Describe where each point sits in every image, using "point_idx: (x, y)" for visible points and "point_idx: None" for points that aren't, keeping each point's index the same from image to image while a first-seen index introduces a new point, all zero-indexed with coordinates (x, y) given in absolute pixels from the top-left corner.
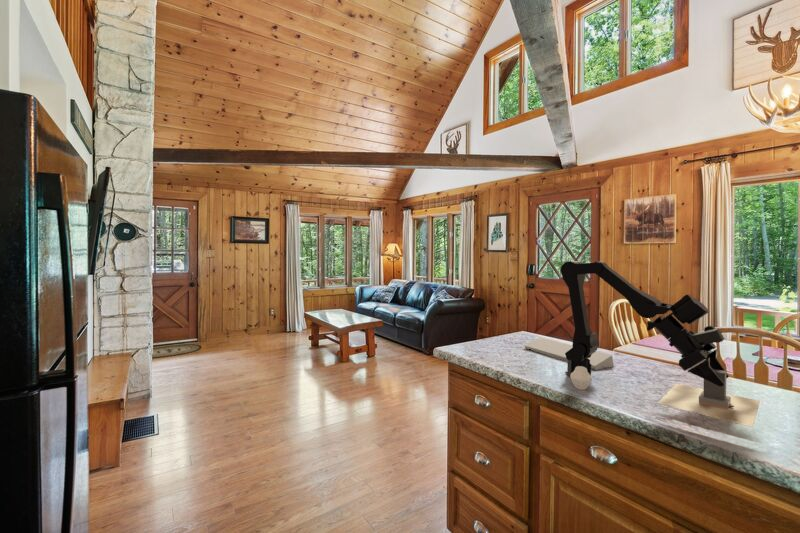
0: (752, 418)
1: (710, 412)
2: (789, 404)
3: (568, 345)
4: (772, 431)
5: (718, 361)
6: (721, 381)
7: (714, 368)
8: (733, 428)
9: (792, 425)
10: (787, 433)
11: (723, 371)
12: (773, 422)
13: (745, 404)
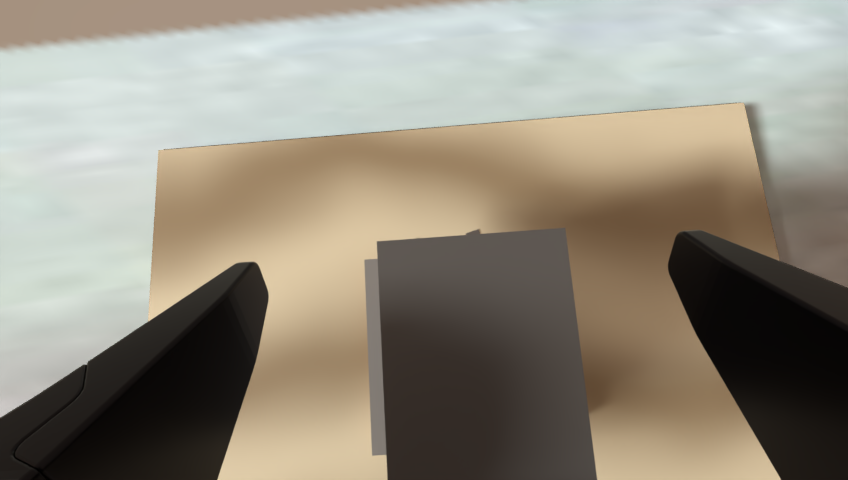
0: (582, 125)
1: None
2: (28, 62)
3: None
4: (597, 59)
5: (57, 414)
6: (735, 245)
7: (197, 435)
8: None
9: (409, 11)
10: (562, 12)
11: (446, 268)
12: (439, 75)
13: (314, 197)
